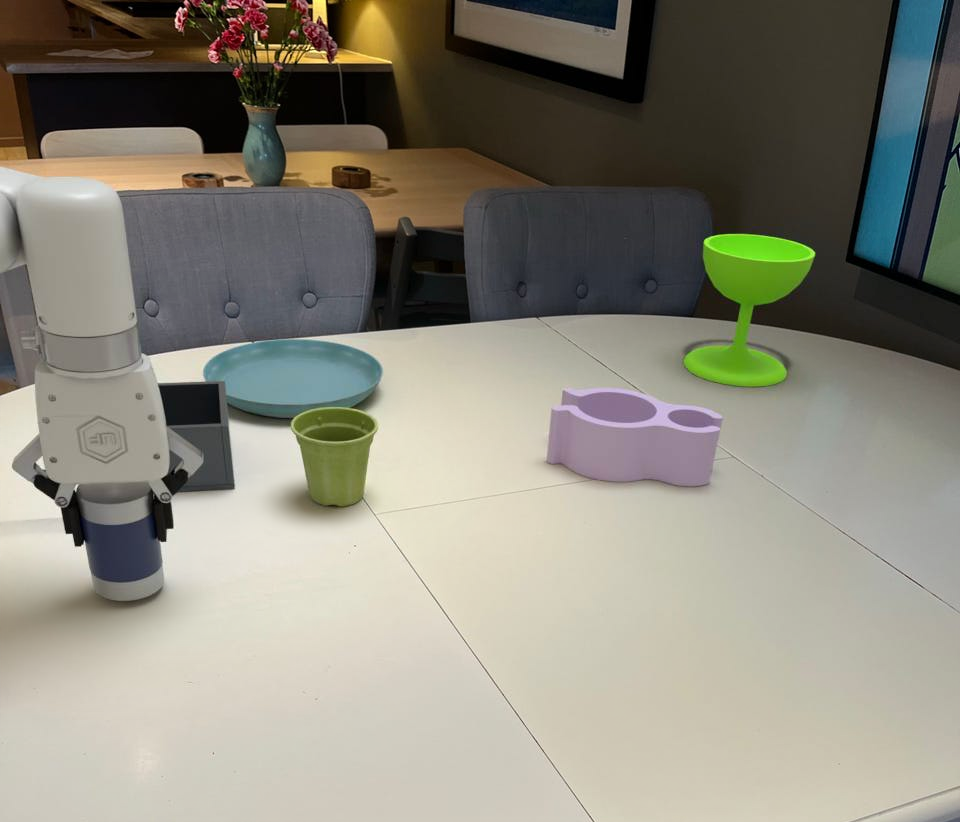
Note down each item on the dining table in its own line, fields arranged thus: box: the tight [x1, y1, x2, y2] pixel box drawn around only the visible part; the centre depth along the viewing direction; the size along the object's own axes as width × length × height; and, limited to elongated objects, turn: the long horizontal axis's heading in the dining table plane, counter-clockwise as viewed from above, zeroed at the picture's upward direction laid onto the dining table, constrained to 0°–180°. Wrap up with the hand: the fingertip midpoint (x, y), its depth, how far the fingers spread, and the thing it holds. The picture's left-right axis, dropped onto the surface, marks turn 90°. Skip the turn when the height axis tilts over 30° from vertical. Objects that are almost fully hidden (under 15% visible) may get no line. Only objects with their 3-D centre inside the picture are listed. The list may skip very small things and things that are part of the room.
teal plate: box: [202, 338, 384, 419], centre depth 136 cm, size 24×24×3 cm
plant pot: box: [290, 407, 379, 507], centre depth 110 cm, size 9×9×9 cm
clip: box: [546, 387, 724, 488], centre depth 121 cm, size 20×12×7 cm, turn 74°
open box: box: [153, 381, 236, 494], centre depth 114 cm, size 14×14×8 cm
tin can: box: [75, 482, 165, 602], centre depth 91 cm, size 6×6×10 cm
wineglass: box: [682, 233, 816, 388], centre depth 149 cm, size 16×16×18 cm
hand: (121, 535), depth 91 cm, fingers closed on tin can, 6 cm apart
